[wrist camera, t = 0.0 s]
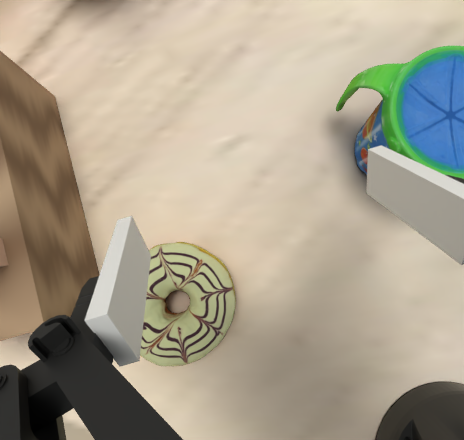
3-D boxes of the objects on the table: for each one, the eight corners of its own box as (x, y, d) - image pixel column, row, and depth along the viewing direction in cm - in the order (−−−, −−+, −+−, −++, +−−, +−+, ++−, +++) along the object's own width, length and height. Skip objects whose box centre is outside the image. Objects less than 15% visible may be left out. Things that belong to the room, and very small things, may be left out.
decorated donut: (105, 319, 30) (85, 331, 26) (161, 223, 31) (151, 220, 27) (198, 374, 30) (192, 395, 26) (253, 276, 31) (256, 281, 27)
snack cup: (471, 158, 32) (583, 118, 22) (416, 233, 31) (506, 229, 21) (357, 73, 32) (415, -3, 22) (301, 145, 32) (334, 101, 22)
